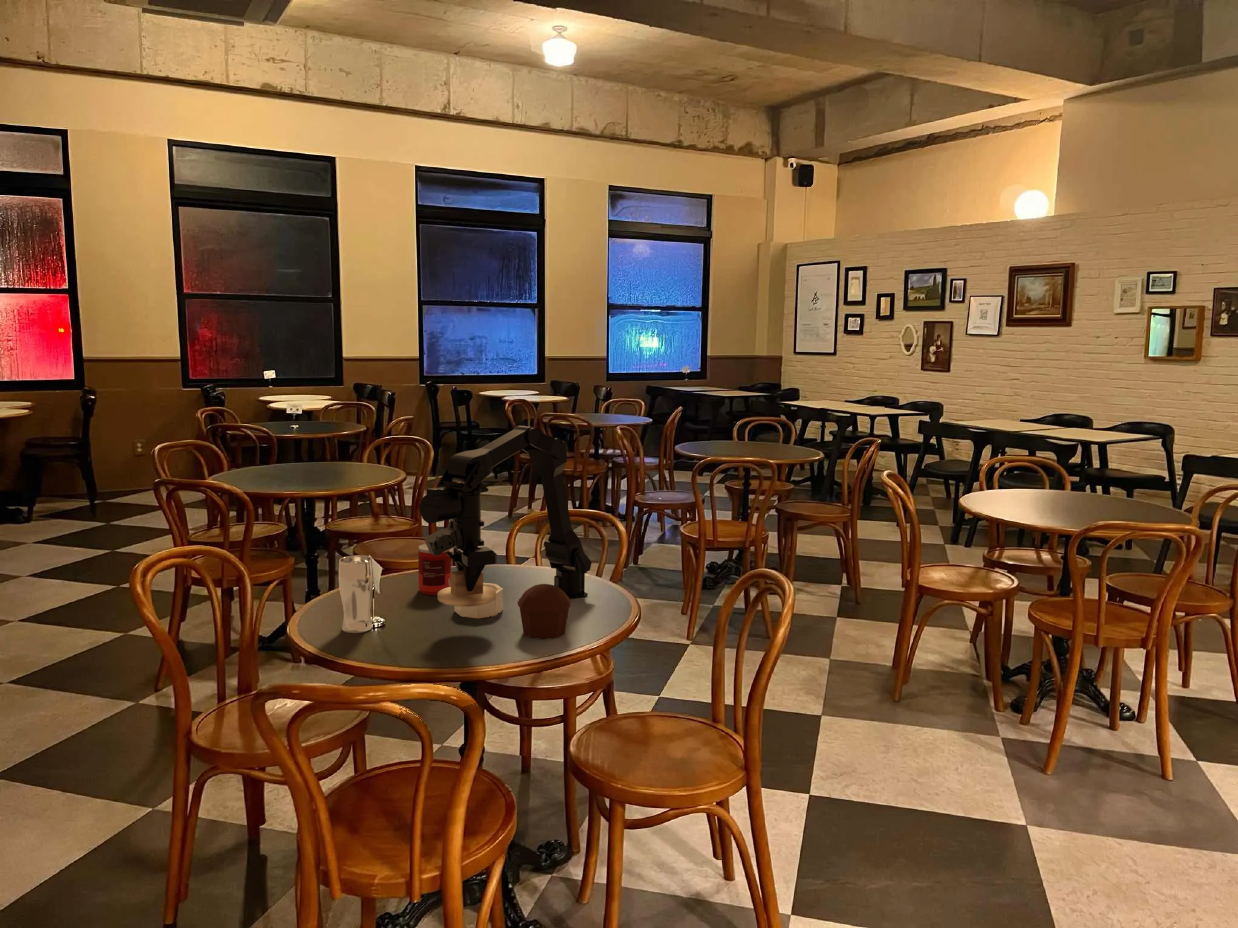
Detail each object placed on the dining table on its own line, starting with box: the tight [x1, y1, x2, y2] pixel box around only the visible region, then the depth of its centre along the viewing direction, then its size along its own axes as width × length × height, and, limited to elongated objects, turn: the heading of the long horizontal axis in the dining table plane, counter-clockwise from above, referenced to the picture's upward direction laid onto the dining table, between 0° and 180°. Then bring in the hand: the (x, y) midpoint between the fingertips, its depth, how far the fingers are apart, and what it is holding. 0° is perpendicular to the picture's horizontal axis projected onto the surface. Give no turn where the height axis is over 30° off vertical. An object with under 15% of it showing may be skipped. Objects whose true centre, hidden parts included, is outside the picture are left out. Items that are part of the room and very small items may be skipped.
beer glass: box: [338, 554, 374, 634], centre depth 184 cm, size 7×7×15 cm
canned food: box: [417, 543, 452, 596], centre depth 212 cm, size 8×8×11 cm
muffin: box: [517, 583, 572, 640], centre depth 184 cm, size 12×11×10 cm
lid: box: [437, 570, 496, 607], centre depth 183 cm, size 12×12×6 cm
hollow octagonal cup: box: [454, 582, 504, 619], centre depth 198 cm, size 10×10×5 cm
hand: (467, 588), depth 183 cm, fingers closed on lid, 3 cm apart
